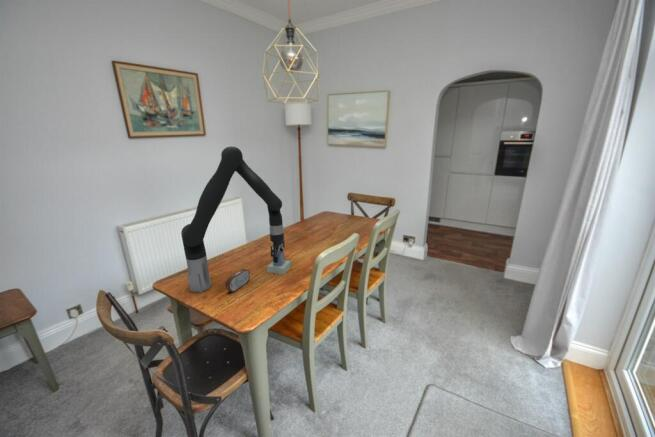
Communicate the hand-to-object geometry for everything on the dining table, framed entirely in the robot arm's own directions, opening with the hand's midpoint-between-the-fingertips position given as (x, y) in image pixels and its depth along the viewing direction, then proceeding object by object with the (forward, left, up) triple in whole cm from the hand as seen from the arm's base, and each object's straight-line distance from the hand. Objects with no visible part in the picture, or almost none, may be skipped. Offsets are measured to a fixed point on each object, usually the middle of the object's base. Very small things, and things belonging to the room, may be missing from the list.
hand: (278, 259), depth 159 cm
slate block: (0, 0, -3) cm, 3 cm away
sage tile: (0, 0, -7) cm, 7 cm away
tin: (-22, +13, -7) cm, 26 cm away
